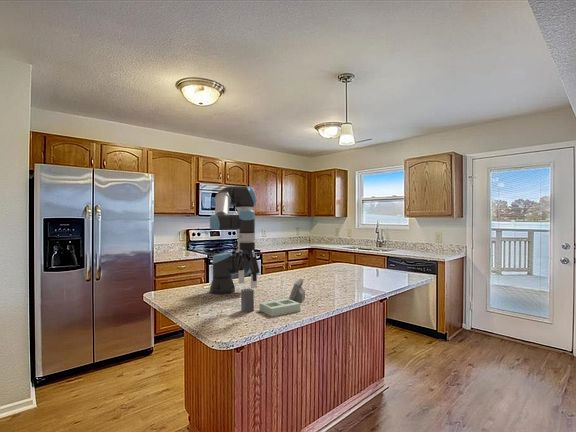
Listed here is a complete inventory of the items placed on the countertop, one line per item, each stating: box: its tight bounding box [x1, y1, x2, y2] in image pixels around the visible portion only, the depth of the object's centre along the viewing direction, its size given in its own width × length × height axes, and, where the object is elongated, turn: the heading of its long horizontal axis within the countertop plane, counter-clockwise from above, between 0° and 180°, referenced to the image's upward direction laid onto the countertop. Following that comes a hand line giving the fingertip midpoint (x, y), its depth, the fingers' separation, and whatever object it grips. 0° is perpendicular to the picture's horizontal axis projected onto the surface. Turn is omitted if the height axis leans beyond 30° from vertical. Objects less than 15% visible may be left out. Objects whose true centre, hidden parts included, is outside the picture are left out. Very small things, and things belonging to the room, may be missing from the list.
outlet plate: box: [259, 298, 301, 317], centre depth 157 cm, size 12×16×4 cm
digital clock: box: [288, 278, 306, 303], centre depth 177 cm, size 16×9×11 cm, turn 155°
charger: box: [240, 287, 255, 313], centre depth 157 cm, size 4×4×11 cm
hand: (247, 285), depth 157 cm, fingers open, 13 cm apart
